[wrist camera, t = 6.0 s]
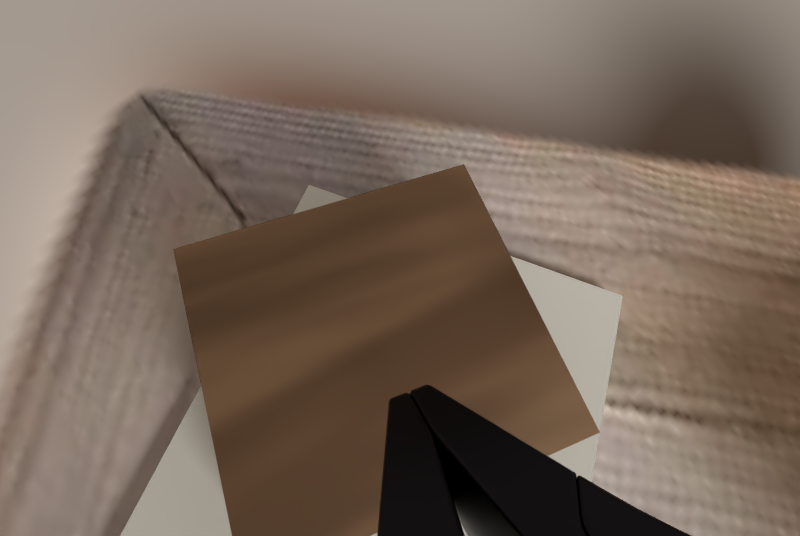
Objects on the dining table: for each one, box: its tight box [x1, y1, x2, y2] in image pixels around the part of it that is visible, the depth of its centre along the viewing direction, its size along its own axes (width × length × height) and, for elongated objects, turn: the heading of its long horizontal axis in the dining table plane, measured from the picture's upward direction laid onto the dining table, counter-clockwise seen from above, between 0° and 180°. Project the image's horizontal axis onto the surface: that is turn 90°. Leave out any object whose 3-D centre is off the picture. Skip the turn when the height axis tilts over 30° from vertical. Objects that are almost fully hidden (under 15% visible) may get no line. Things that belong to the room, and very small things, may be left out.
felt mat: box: [120, 185, 623, 536], centre depth 14 cm, size 13×14×1 cm
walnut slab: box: [174, 164, 600, 536], centre depth 13 cm, size 3×10×9 cm
